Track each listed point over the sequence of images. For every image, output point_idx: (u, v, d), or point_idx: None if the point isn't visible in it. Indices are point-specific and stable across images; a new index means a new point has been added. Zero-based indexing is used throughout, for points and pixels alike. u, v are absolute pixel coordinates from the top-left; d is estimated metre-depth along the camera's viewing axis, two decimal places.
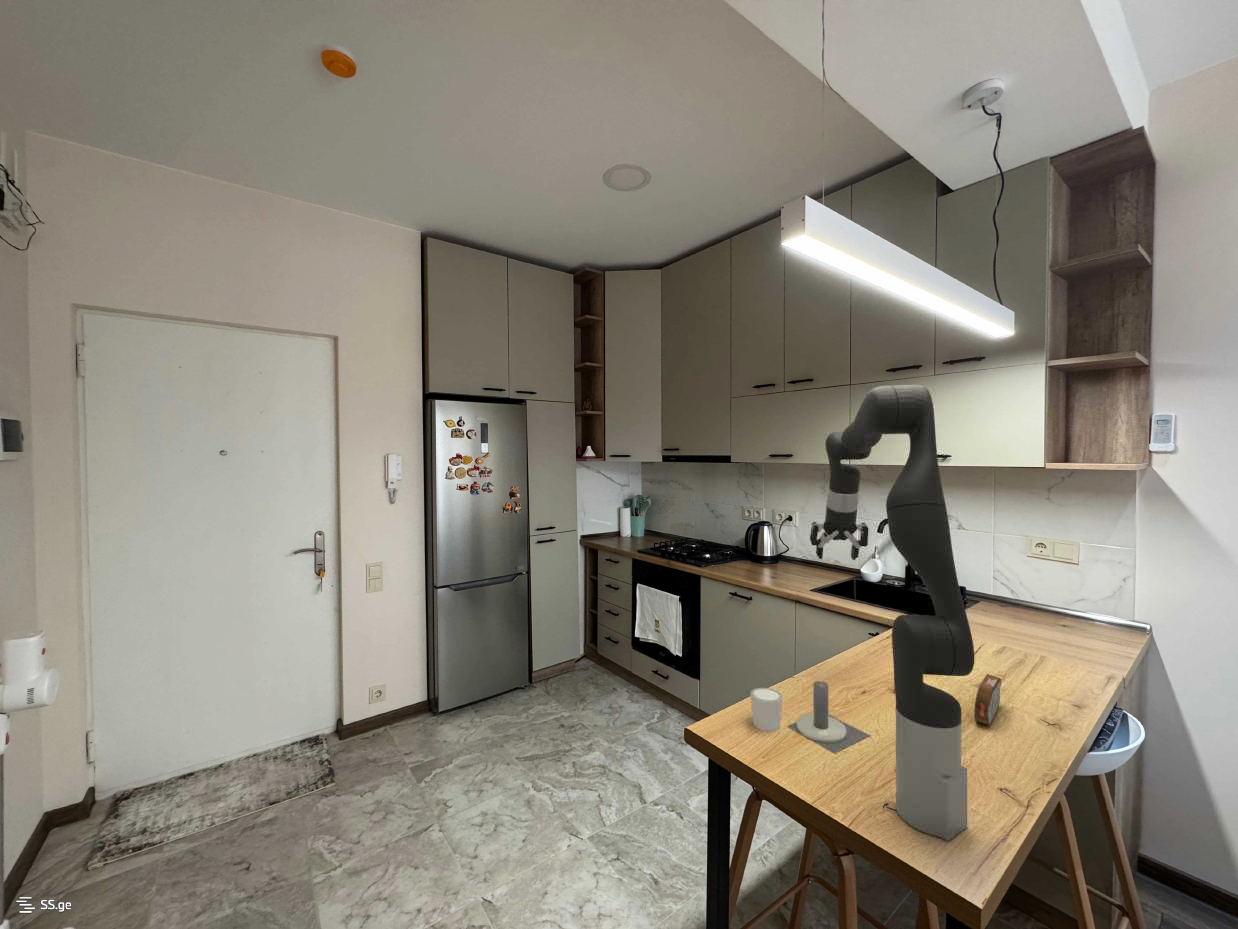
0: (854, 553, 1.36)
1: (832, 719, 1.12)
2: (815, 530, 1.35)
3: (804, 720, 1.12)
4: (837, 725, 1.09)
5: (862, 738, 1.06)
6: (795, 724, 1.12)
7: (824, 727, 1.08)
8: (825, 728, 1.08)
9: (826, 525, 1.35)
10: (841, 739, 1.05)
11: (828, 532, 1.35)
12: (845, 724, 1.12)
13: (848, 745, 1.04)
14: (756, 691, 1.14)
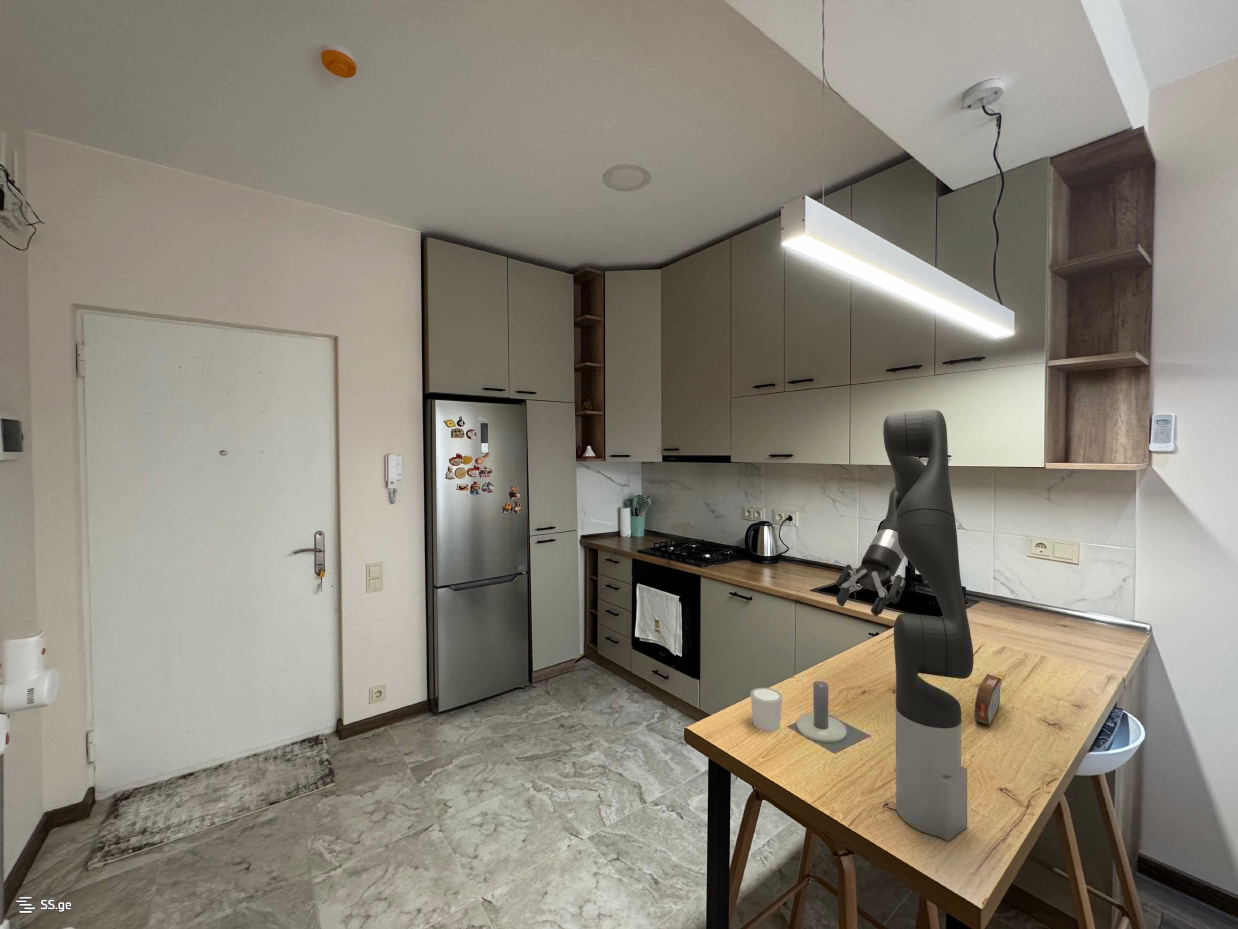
0: (875, 602, 1.12)
1: (832, 719, 1.12)
2: (846, 568, 1.24)
3: (804, 720, 1.12)
4: (837, 725, 1.09)
5: (862, 738, 1.06)
6: (795, 724, 1.12)
7: (824, 727, 1.08)
8: (825, 728, 1.08)
9: (859, 567, 1.22)
10: (841, 739, 1.05)
11: (858, 573, 1.21)
12: (845, 724, 1.12)
13: (848, 745, 1.04)
14: (756, 691, 1.14)
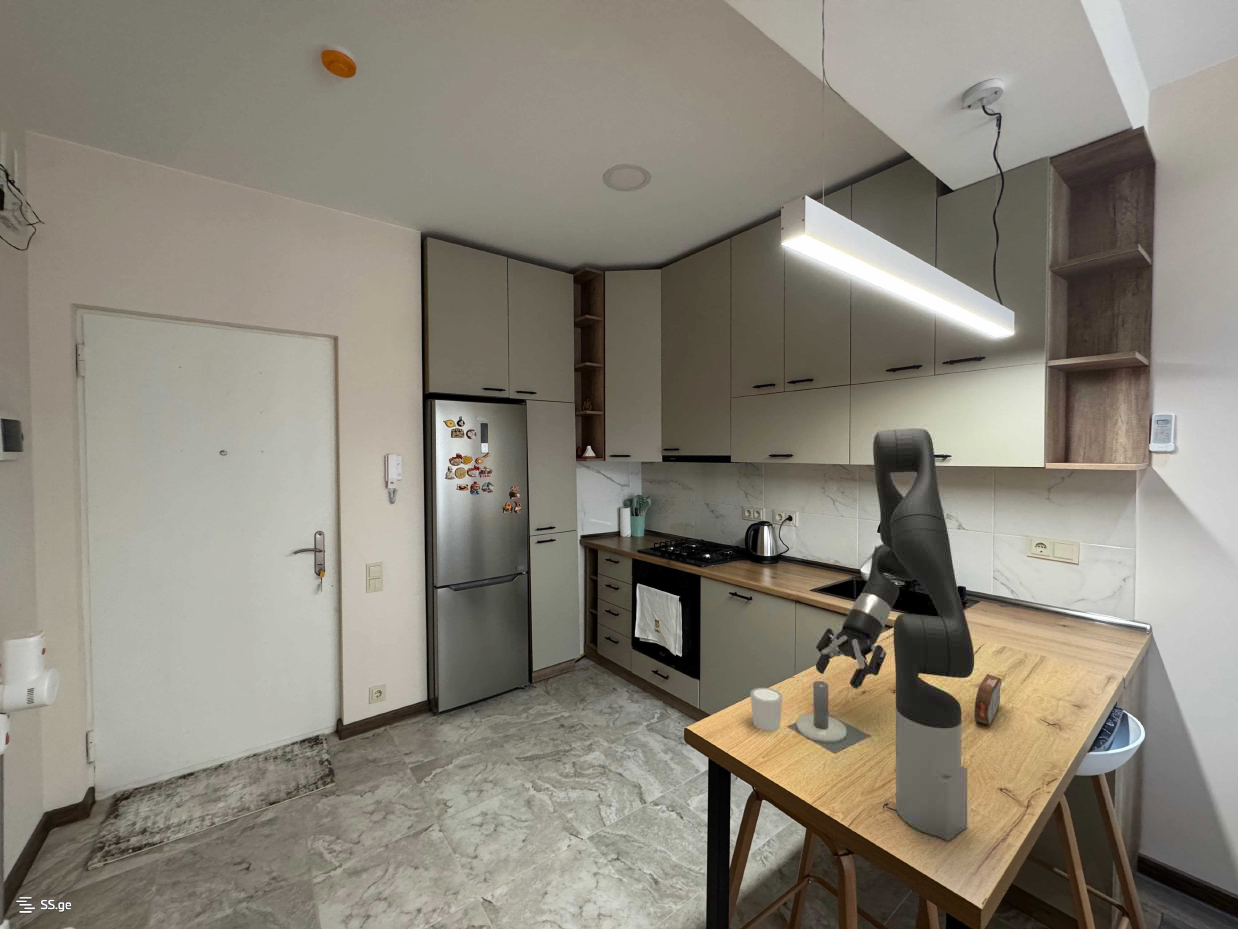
0: (854, 674, 1.09)
1: (832, 719, 1.12)
2: (827, 632, 1.20)
3: (804, 720, 1.12)
4: (837, 725, 1.09)
5: (862, 738, 1.06)
6: (795, 724, 1.12)
7: (824, 727, 1.08)
8: (825, 728, 1.08)
9: (840, 631, 1.18)
10: (841, 739, 1.05)
11: (838, 639, 1.17)
12: (845, 724, 1.12)
13: (848, 745, 1.04)
14: (756, 691, 1.14)
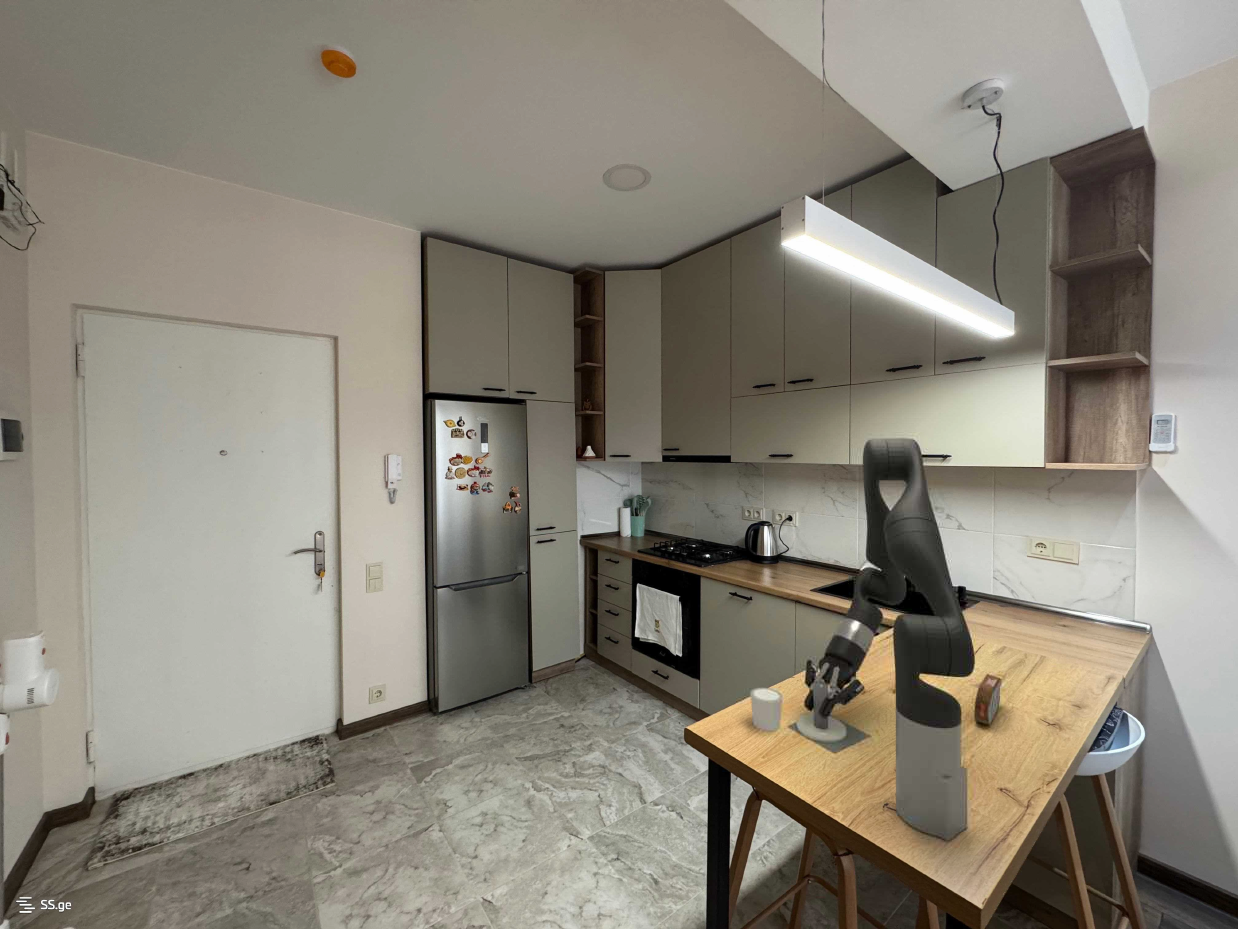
0: (823, 704, 1.07)
1: (832, 719, 1.12)
2: (808, 665, 1.16)
3: (803, 720, 1.12)
4: (837, 725, 1.09)
5: (862, 738, 1.06)
6: (795, 724, 1.12)
7: (824, 727, 1.08)
8: (825, 728, 1.08)
9: None
10: (841, 739, 1.05)
11: (820, 670, 1.13)
12: (845, 724, 1.12)
13: (848, 745, 1.04)
14: (756, 691, 1.14)
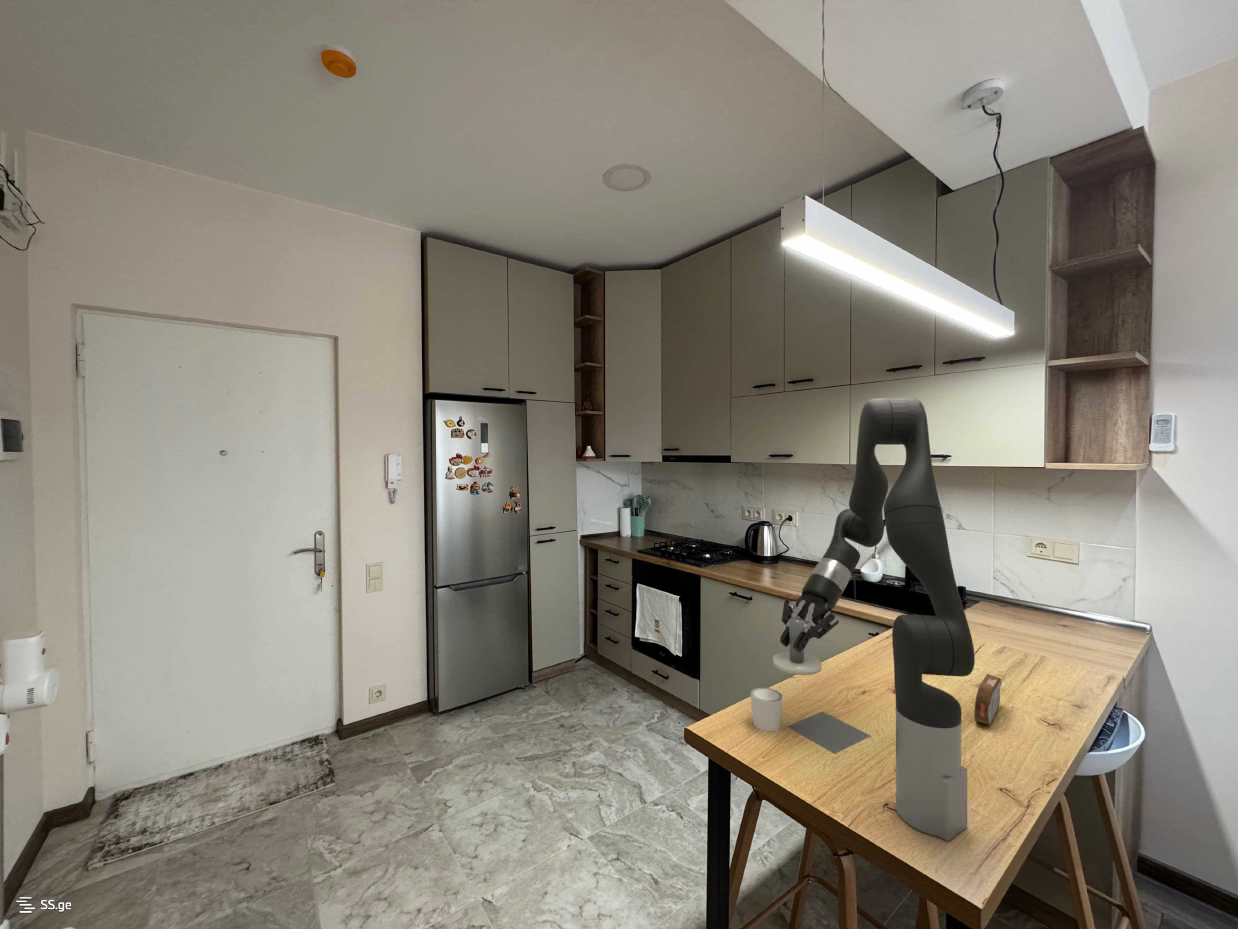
0: (798, 638, 1.09)
1: (809, 656, 1.13)
2: (785, 604, 1.17)
3: (780, 656, 1.13)
4: (813, 660, 1.11)
5: (862, 738, 1.06)
6: (795, 724, 1.12)
7: (799, 661, 1.09)
8: (800, 662, 1.09)
9: (798, 598, 1.17)
10: (815, 671, 1.06)
11: (797, 607, 1.14)
12: (845, 724, 1.12)
13: (848, 745, 1.04)
14: (756, 691, 1.14)
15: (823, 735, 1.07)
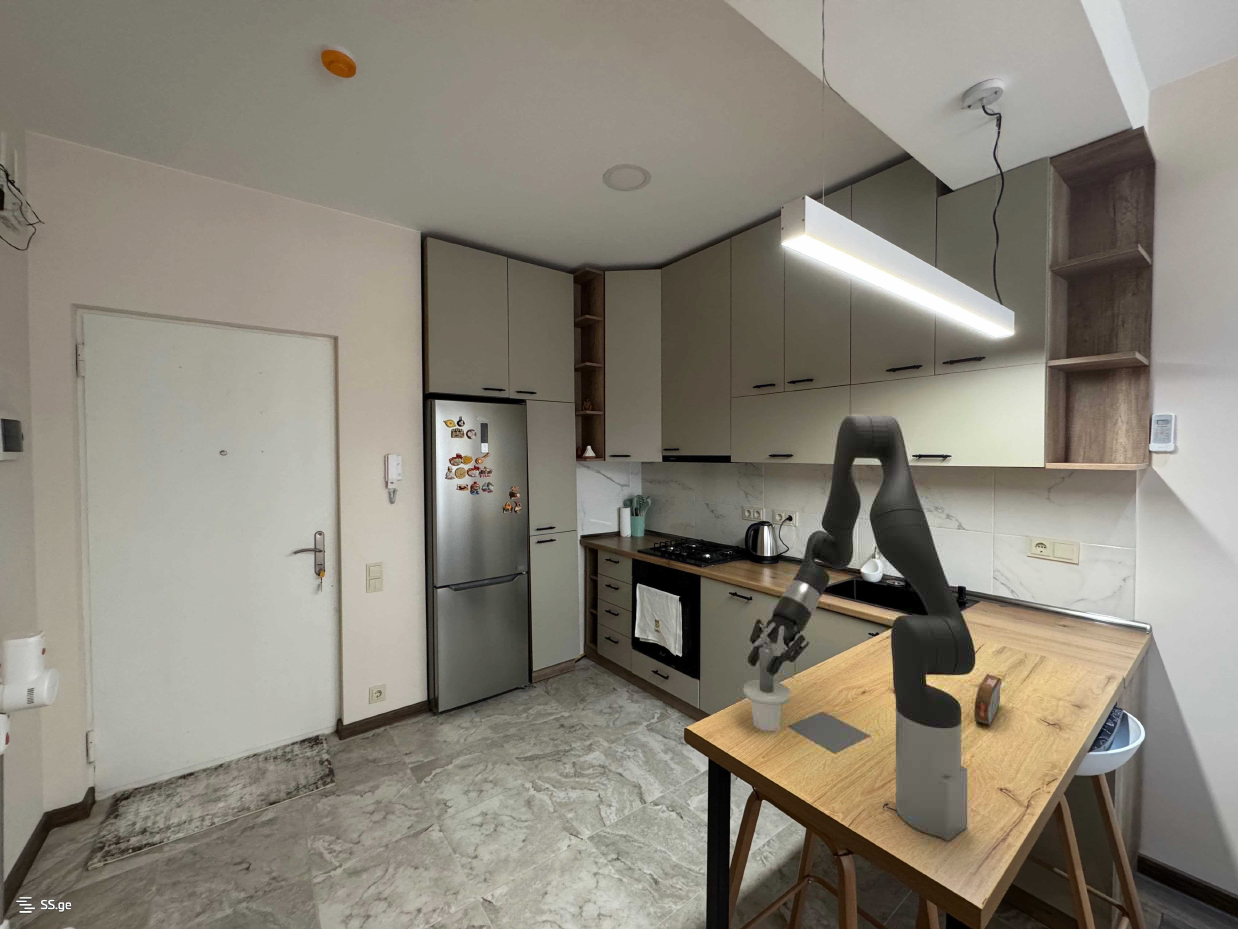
0: (771, 661, 1.09)
1: (779, 684, 1.15)
2: (757, 623, 1.19)
3: (751, 685, 1.14)
4: (782, 689, 1.12)
5: (862, 738, 1.06)
6: (795, 724, 1.12)
7: (769, 690, 1.11)
8: (770, 691, 1.11)
9: None
10: (784, 701, 1.08)
11: None
12: (845, 724, 1.12)
13: (848, 745, 1.04)
14: None
15: (823, 735, 1.07)
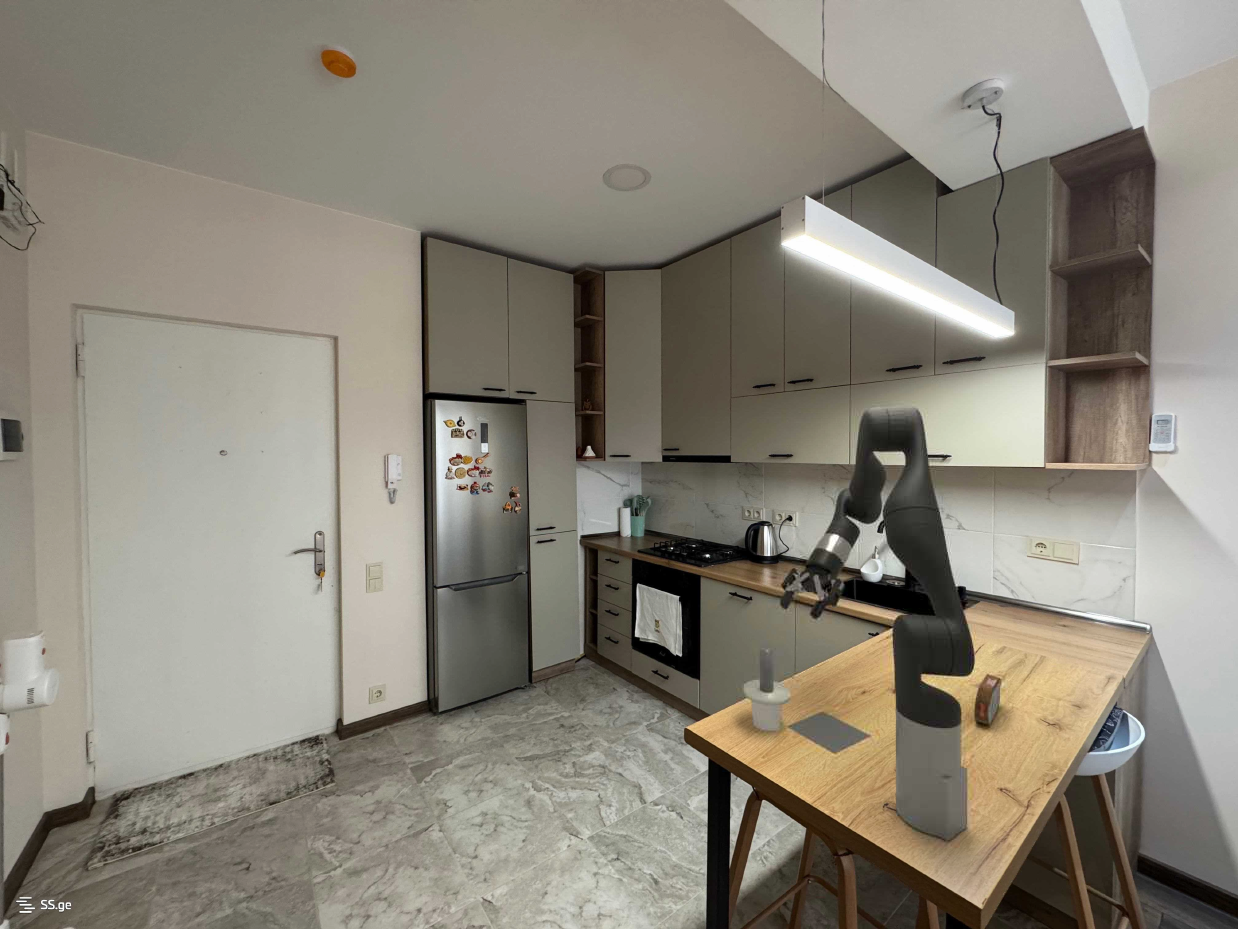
0: (814, 606, 1.14)
1: (779, 684, 1.15)
2: (791, 572, 1.25)
3: (751, 685, 1.14)
4: (782, 689, 1.12)
5: (862, 738, 1.06)
6: (795, 724, 1.12)
7: (769, 691, 1.11)
8: (770, 691, 1.11)
9: None
10: (784, 701, 1.08)
11: None
12: (845, 724, 1.12)
13: (848, 745, 1.04)
14: None
15: (823, 735, 1.07)
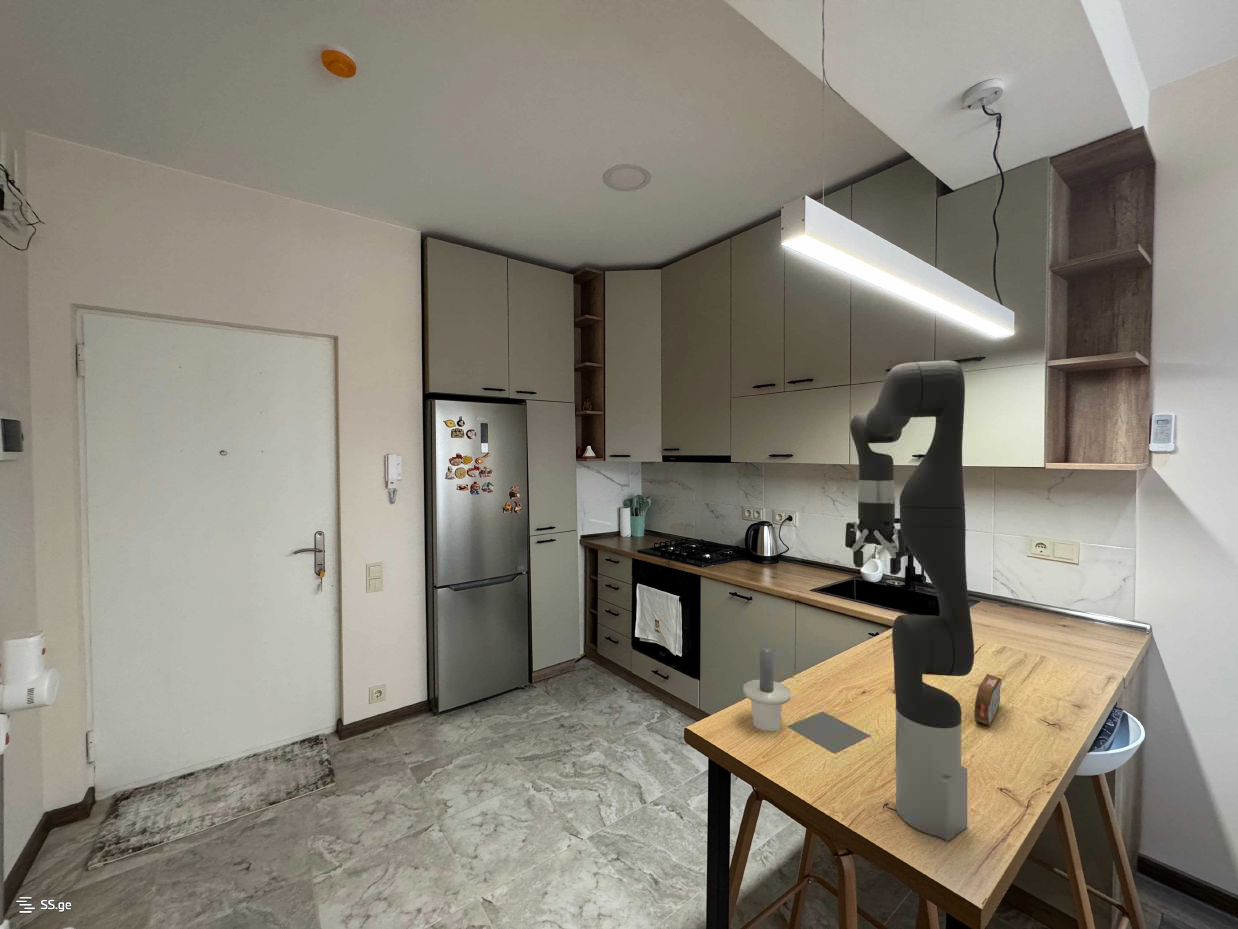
0: (891, 565, 1.12)
1: (779, 684, 1.15)
2: (847, 528, 1.20)
3: (751, 685, 1.14)
4: (782, 689, 1.12)
5: (862, 738, 1.06)
6: (795, 724, 1.12)
7: (769, 690, 1.11)
8: (770, 691, 1.11)
9: (859, 523, 1.18)
10: (784, 701, 1.08)
11: (861, 532, 1.18)
12: (845, 724, 1.12)
13: (848, 745, 1.04)
14: None
15: (823, 735, 1.07)
